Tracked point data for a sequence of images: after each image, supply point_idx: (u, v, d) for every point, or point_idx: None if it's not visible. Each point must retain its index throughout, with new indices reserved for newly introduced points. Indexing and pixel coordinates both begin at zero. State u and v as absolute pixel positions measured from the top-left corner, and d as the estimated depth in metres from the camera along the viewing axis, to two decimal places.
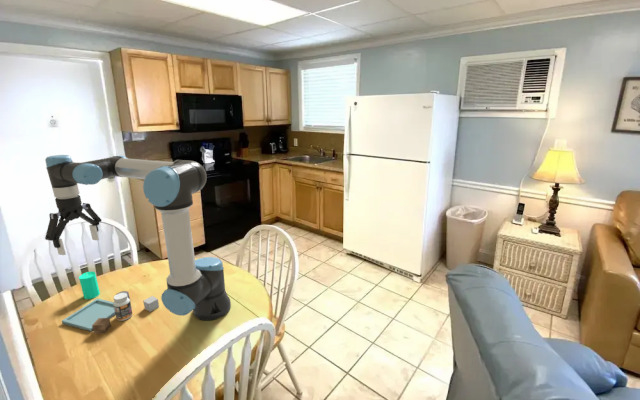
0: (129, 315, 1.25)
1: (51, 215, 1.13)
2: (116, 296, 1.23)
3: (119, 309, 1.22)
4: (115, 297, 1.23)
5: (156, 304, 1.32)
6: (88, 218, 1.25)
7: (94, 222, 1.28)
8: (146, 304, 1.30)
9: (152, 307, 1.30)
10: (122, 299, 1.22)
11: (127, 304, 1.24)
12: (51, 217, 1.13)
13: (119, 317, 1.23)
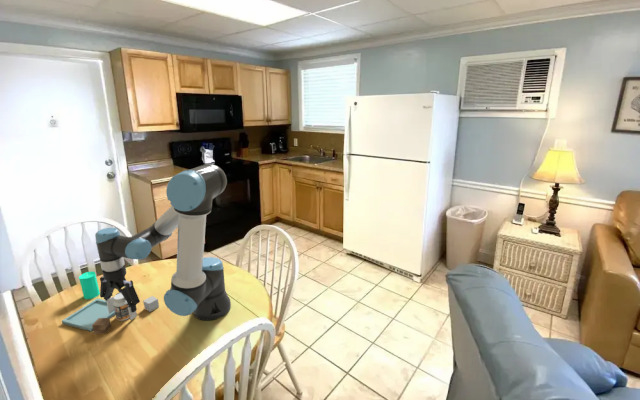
0: None
1: None
2: (116, 296, 1.23)
3: (119, 309, 1.22)
4: (115, 297, 1.23)
5: (156, 304, 1.32)
6: (124, 295, 1.21)
7: (128, 302, 1.22)
8: (146, 304, 1.30)
9: (152, 306, 1.30)
10: (123, 299, 1.23)
11: (127, 304, 1.24)
12: None
13: (119, 317, 1.23)
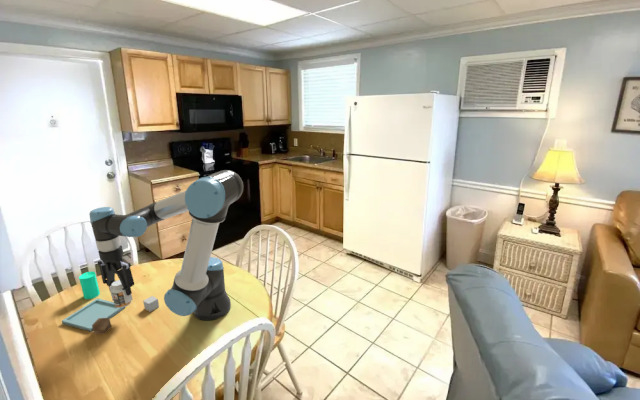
0: (128, 302, 1.23)
1: None
2: (114, 283, 1.21)
3: (117, 296, 1.20)
4: (113, 284, 1.21)
5: (156, 304, 1.32)
6: (119, 278, 1.19)
7: (123, 285, 1.20)
8: (146, 304, 1.30)
9: (152, 307, 1.30)
10: (121, 286, 1.20)
11: None
12: None
13: (117, 304, 1.21)
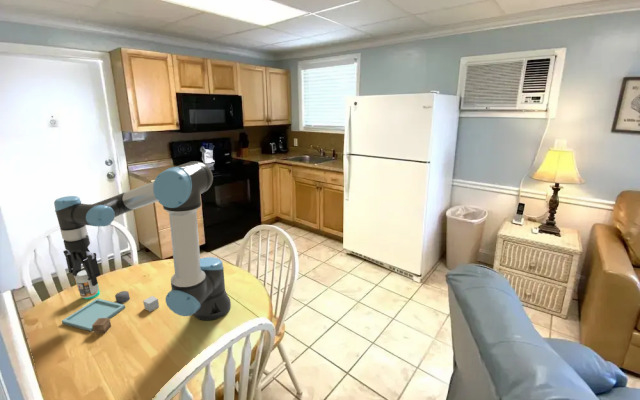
0: None
1: None
2: (80, 272, 1.20)
3: (83, 286, 1.20)
4: (79, 273, 1.20)
5: (156, 304, 1.32)
6: (85, 268, 1.18)
7: (88, 275, 1.19)
8: (146, 304, 1.30)
9: (152, 307, 1.30)
10: (86, 275, 1.20)
11: None
12: None
13: (83, 294, 1.21)
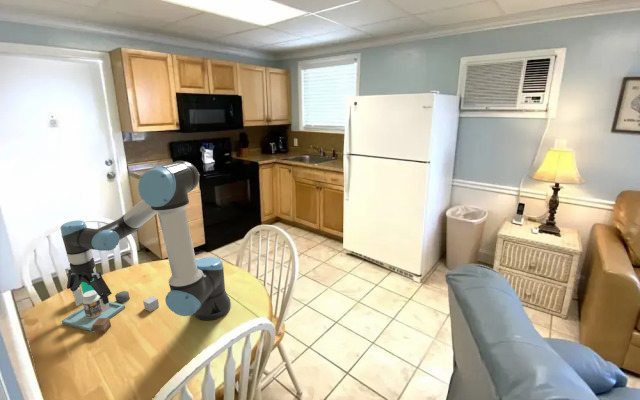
0: (99, 313, 1.26)
1: None
2: (85, 294, 1.23)
3: (88, 307, 1.23)
4: (84, 295, 1.23)
5: (156, 304, 1.32)
6: (94, 288, 1.20)
7: (99, 294, 1.20)
8: (146, 304, 1.30)
9: (152, 307, 1.30)
10: (92, 297, 1.23)
11: (97, 301, 1.24)
12: None
13: (88, 315, 1.24)
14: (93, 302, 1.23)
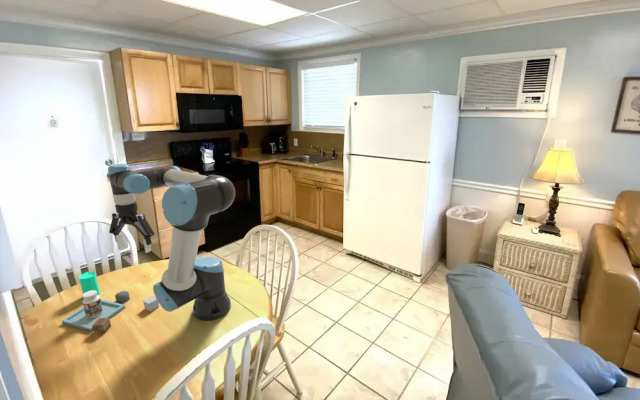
0: (99, 313, 1.26)
1: None
2: (85, 294, 1.23)
3: (88, 307, 1.23)
4: (84, 295, 1.23)
5: (156, 304, 1.32)
6: (138, 229, 1.27)
7: (143, 235, 1.27)
8: (146, 304, 1.30)
9: (152, 307, 1.30)
10: (92, 297, 1.23)
11: (97, 301, 1.24)
12: None
13: (88, 315, 1.24)
14: (93, 302, 1.23)
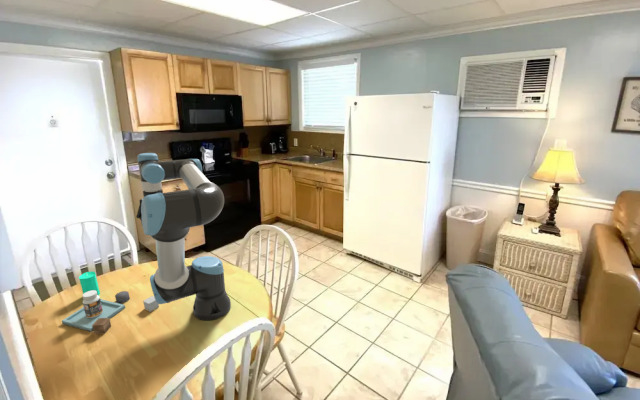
0: (99, 313, 1.26)
1: None
2: (85, 294, 1.23)
3: (88, 307, 1.23)
4: (84, 295, 1.23)
5: (156, 304, 1.32)
6: None
7: None
8: (146, 304, 1.30)
9: (152, 307, 1.30)
10: (92, 297, 1.23)
11: (97, 301, 1.24)
12: None
13: (88, 315, 1.24)
14: (93, 302, 1.23)
